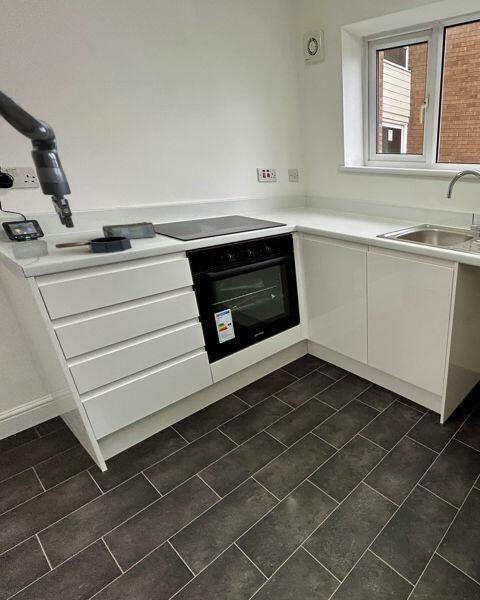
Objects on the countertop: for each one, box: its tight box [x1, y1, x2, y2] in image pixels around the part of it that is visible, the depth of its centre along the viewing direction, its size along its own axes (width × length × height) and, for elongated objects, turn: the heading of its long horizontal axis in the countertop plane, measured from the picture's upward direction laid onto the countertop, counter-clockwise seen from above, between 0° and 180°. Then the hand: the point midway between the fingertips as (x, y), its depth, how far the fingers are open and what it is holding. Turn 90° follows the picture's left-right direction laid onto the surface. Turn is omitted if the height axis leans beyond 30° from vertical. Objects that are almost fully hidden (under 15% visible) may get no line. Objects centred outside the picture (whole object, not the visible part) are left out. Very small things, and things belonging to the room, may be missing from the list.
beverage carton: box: [102, 221, 156, 240], centre depth 162 cm, size 8×19×7 cm, turn 127°
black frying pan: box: [54, 236, 132, 254], centre depth 139 cm, size 22×13×4 cm, turn 140°
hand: (68, 226), depth 131 cm, fingers open, 8 cm apart
